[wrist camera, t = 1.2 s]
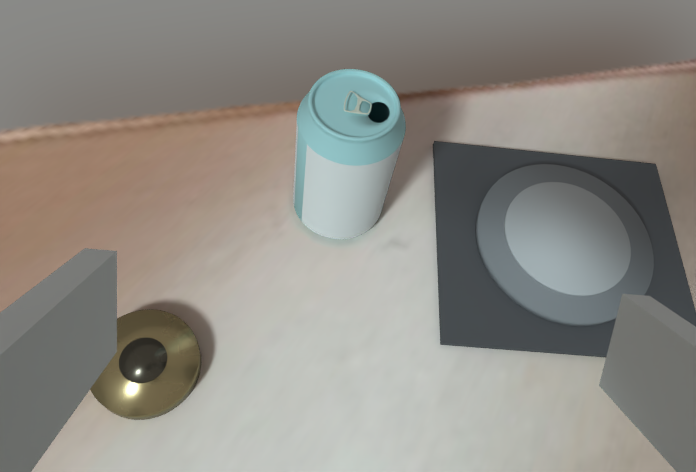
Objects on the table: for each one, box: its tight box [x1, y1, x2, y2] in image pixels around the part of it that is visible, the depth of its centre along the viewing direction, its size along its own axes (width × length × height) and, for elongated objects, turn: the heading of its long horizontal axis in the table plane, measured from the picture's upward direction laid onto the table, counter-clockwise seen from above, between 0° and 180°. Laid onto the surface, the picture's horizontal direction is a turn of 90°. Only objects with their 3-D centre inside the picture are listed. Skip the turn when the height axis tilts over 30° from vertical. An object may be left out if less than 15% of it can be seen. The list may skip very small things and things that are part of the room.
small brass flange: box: [90, 310, 201, 420], centre depth 37 cm, size 7×7×1 cm
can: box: [293, 69, 406, 239], centre depth 41 cm, size 7×7×12 cm
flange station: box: [433, 141, 696, 357], centre depth 45 cm, size 20×18×2 cm
